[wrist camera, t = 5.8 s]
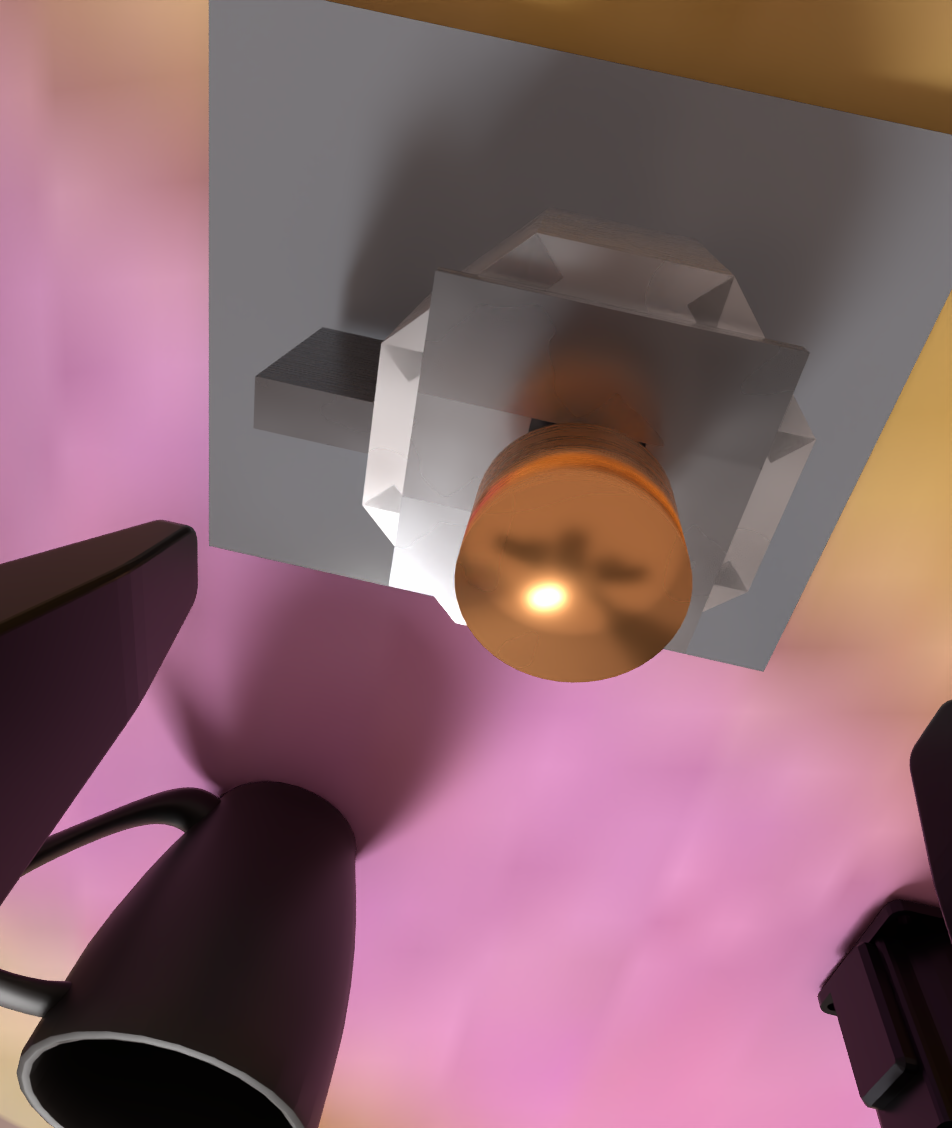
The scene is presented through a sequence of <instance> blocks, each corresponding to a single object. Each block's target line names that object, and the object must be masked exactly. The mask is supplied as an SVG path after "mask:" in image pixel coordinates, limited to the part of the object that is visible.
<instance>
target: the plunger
mask: <svg viewBox="0 0 952 1128" xmlns="http://www.w3.org/2000/svg"><path fill="white" fill-rule="evenodd" d="M455 592H456V598H457V603H458V606H459V609H460V612H461V614H462V616H463V618H464V620H465V622H466V624H467V626H468V628H469V629H470V631H471V632H472V633H473V635H474V636H475V638H476V639H477V640H478V641H479V642H480V643H481V644H482V645H483V647H485V648H486V649H487V650H488V651H489V652H490V653H491V654H493V655H494V656H495V657H497V658H498V659H500V660H501V661H502V662H504V663H505V664H507V665H509V666H511V667H513V668H515V669H517V670H519V671H522V672H524V673H526V674H529V675H532V676H535V677H539V678H542V679H547V680H553V681H560V682H590V681H597V680H603V679H607V678H611V677H615V676H618V675H621V674H623V673H626V672H629V671H631V670H633V669H635V668H637V667H639V666H641V665H642V664H644V663H645V662H647V661H649V660H650V659H652V658H653V657H654V656H655V655H657V654H658V653H659V652H660V651H661V650H662V649H664V648H665V646H666V645H667V644H668V643H669V642H670V641H671V640H672V639H673V637H674V636H675V634H676V633H677V631H678V630H679V629H680V627H681V625H682V623H683V621H684V619H685V617H686V615H687V611H688V608H689V605H690V602H691V595H692V570H691V564H690V559H689V555H688V551H687V547H686V543H685V539H684V535H683V531H682V527H681V523H680V519H679V514H678V510H677V506H676V502H675V498H674V494H673V491H672V487H671V484H670V481H669V479H668V477H667V475H666V473H665V471H664V469H663V468H662V466H661V465H660V464H659V462H658V461H657V459H656V458H655V457H654V456H653V455H652V454H651V453H650V452H649V451H648V450H647V449H646V448H645V447H644V446H642V442H638V441H636V440H634V439H633V438H631V437H629V436H628V435H626V434H624V433H622V432H619V431H617V430H615V429H612V428H609V427H605V426H602V425H598V424H591V423H581V422H569V423H558V424H557V423H553V422H548V421H544V420H539V419H535V418H531V423H530V427H529V431H528V433H527V434H525V435H523V436H521V437H519V438H518V439H516V440H515V441H513V442H512V443H511V444H509V445H508V446H507V447H506V448H505V449H504V450H502V451H501V452H500V453H499V454H498V455H497V457H496V458H495V459H494V460H493V461H492V463H491V464H490V466H489V467H488V469H487V470H486V472H485V474H484V476H483V478H482V480H481V483H480V485H479V488H478V491H477V495H476V498H475V501H474V505H473V508H472V511H471V515H470V518H469V521H468V524H467V528H466V531H465V534H464V538H463V541H462V544H461V548H460V551H459V554H458V558H457V562H456V568H455Z"/></svg>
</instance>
